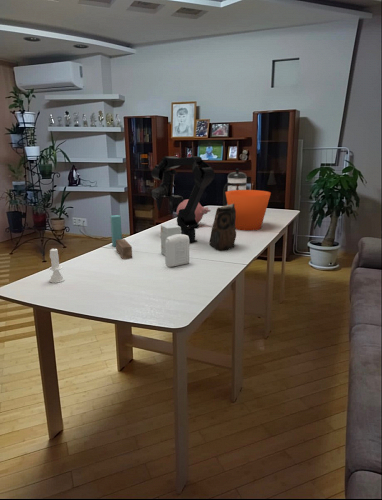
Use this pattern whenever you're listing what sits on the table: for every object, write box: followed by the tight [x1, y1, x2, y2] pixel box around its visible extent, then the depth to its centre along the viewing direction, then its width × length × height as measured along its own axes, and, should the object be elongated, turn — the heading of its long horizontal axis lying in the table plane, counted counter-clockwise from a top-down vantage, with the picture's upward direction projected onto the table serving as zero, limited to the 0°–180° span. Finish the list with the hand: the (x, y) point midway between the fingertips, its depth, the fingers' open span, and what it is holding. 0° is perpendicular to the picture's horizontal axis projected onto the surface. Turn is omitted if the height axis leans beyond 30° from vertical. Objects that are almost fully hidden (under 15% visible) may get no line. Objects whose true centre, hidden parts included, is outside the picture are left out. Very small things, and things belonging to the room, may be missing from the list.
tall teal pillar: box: [109, 214, 123, 248], centre depth 180 cm, size 4×4×14 cm
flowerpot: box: [225, 189, 272, 232], centre depth 216 cm, size 25×25×20 cm
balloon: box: [176, 198, 211, 226], centre depth 221 cm, size 15×20×15 cm
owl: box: [209, 204, 237, 252], centre depth 175 cm, size 13×13×20 cm
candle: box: [48, 248, 66, 284], centre depth 136 cm, size 5×5×12 cm
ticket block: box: [115, 238, 133, 260], centre depth 168 cm, size 4×14×5 cm, turn 22°
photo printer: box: [164, 234, 190, 268], centre depth 153 cm, size 10×4×12 cm, turn 123°
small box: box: [160, 223, 181, 256], centre depth 165 cm, size 8×6×13 cm
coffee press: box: [222, 168, 248, 206], centre depth 254 cm, size 17×16×30 cm
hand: (164, 212), depth 196 cm, fingers open, 9 cm apart
